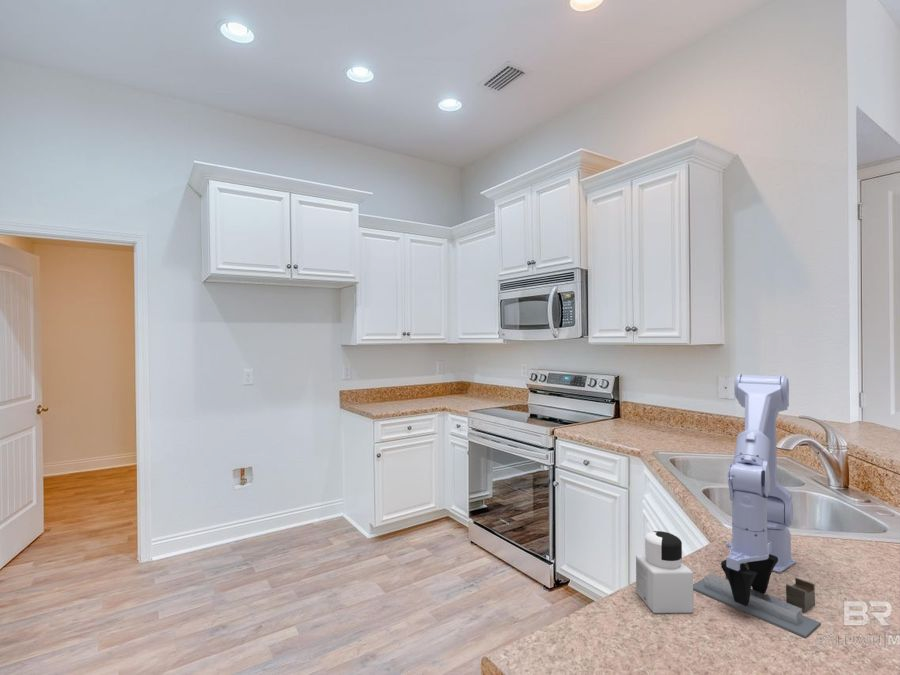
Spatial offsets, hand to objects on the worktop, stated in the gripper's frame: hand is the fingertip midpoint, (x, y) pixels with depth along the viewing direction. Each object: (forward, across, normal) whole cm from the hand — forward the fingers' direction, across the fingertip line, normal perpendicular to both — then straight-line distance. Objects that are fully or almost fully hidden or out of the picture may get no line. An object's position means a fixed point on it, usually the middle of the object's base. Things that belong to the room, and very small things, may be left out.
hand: (750, 597), depth 89 cm
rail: (+1, 0, 0) cm, 1 cm away
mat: (+2, 0, 0) cm, 2 cm away
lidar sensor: (+2, +13, -10) cm, 16 cm away
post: (+2, -8, +6) cm, 10 cm away
